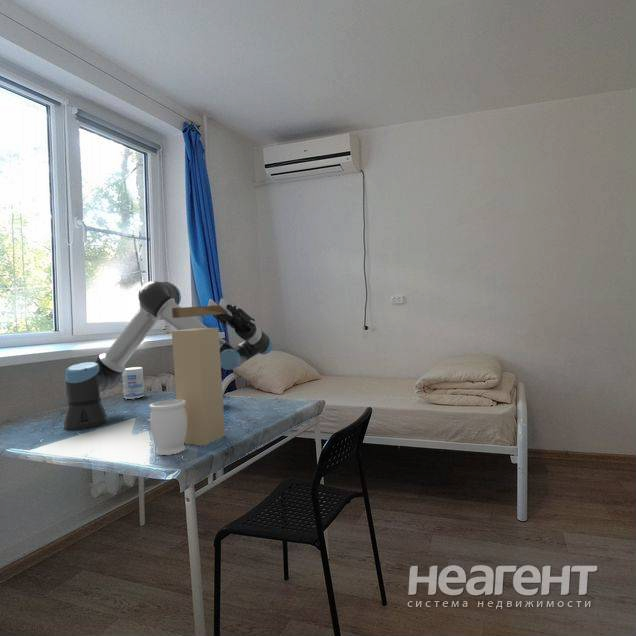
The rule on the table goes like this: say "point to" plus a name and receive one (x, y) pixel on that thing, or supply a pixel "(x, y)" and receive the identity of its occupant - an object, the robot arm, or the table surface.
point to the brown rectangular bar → (197, 311)
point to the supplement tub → (133, 383)
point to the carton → (199, 383)
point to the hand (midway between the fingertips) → (215, 302)
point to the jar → (168, 426)
